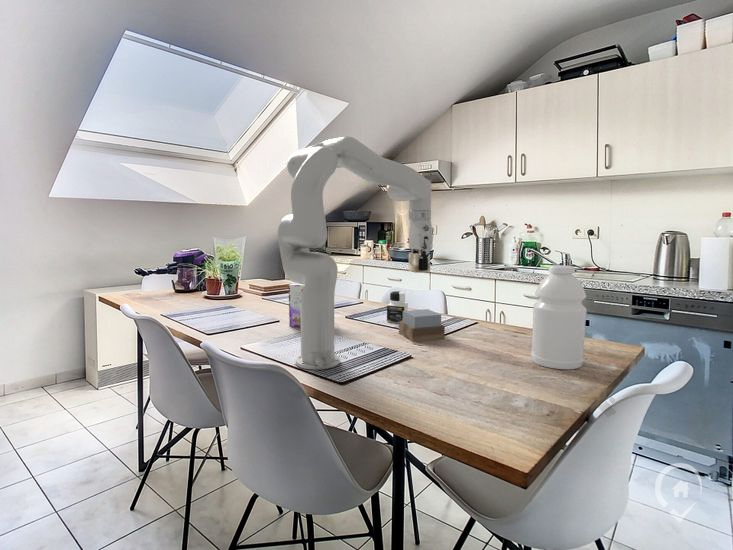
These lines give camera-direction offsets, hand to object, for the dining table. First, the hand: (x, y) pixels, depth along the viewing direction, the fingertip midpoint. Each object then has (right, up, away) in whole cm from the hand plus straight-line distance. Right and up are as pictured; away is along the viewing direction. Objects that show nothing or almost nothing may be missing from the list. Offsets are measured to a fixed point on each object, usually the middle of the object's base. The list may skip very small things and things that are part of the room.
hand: (419, 268), depth 153 cm
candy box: (-41, -22, +19) cm, 50 cm away
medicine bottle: (-6, -21, +28) cm, 35 cm away
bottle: (+37, -28, -24) cm, 52 cm away
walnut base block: (+1, -24, +4) cm, 25 cm away
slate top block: (+1, -19, +3) cm, 20 cm away
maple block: (0, -1, 0) cm, 1 cm away
